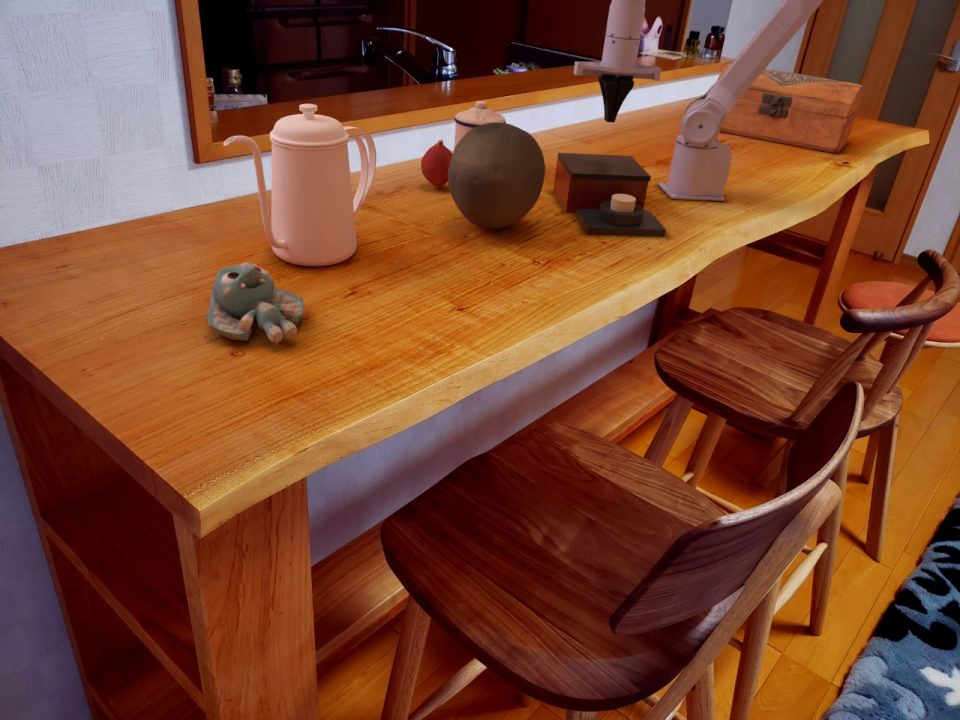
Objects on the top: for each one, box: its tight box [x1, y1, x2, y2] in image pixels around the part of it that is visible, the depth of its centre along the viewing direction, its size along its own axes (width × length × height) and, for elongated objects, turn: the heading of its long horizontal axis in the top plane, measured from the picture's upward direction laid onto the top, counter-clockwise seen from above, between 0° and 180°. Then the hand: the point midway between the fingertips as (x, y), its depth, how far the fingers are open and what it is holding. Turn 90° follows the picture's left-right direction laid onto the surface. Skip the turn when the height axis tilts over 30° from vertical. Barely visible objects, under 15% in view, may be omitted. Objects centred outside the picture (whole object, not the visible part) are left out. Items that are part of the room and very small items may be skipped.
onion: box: [420, 139, 453, 189], centre depth 123 cm, size 6×6×8 cm
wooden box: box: [716, 63, 865, 154], centre depth 172 cm, size 30×16×14 cm, turn 58°
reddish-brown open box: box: [552, 157, 650, 214], centre depth 122 cm, size 11×13×6 cm
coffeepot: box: [223, 103, 377, 267], centre depth 93 cm, size 11×25×19 cm, turn 148°
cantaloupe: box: [447, 122, 546, 230], centre depth 107 cm, size 14×14×15 cm
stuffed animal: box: [206, 261, 306, 344], centre depth 79 cm, size 11×7×12 cm
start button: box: [610, 194, 636, 213], centre depth 113 cm, size 4×4×2 cm
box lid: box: [557, 152, 652, 182], centre depth 120 cm, size 11×13×1 cm
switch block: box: [574, 201, 667, 238], centre depth 114 cm, size 12×8×3 cm, turn 96°
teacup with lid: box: [453, 100, 507, 150], centre depth 134 cm, size 12×9×12 cm
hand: (609, 121), depth 130 cm, fingers closed
